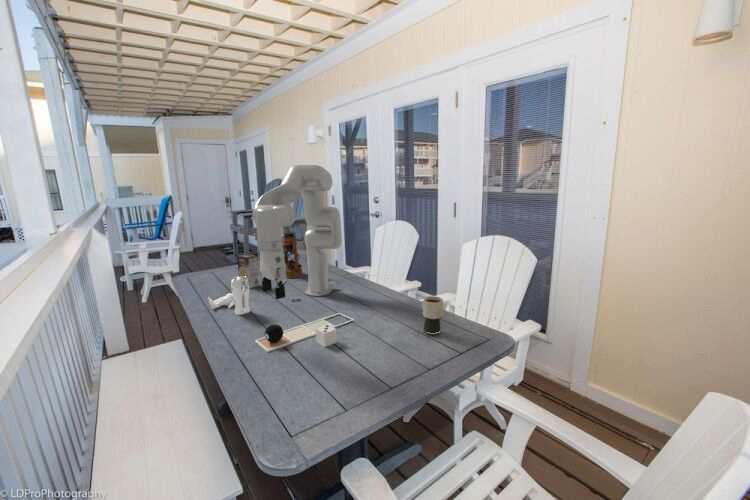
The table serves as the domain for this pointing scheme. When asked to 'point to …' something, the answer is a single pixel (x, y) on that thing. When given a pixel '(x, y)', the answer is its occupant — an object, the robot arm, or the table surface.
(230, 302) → the toy creature
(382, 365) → the table surface
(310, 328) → the board
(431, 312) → the character mug
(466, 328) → the table surface
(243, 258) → the coffee box
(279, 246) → the robot arm
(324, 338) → the die
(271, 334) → the billiard ball
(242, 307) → the beer glass
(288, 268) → the lantern
